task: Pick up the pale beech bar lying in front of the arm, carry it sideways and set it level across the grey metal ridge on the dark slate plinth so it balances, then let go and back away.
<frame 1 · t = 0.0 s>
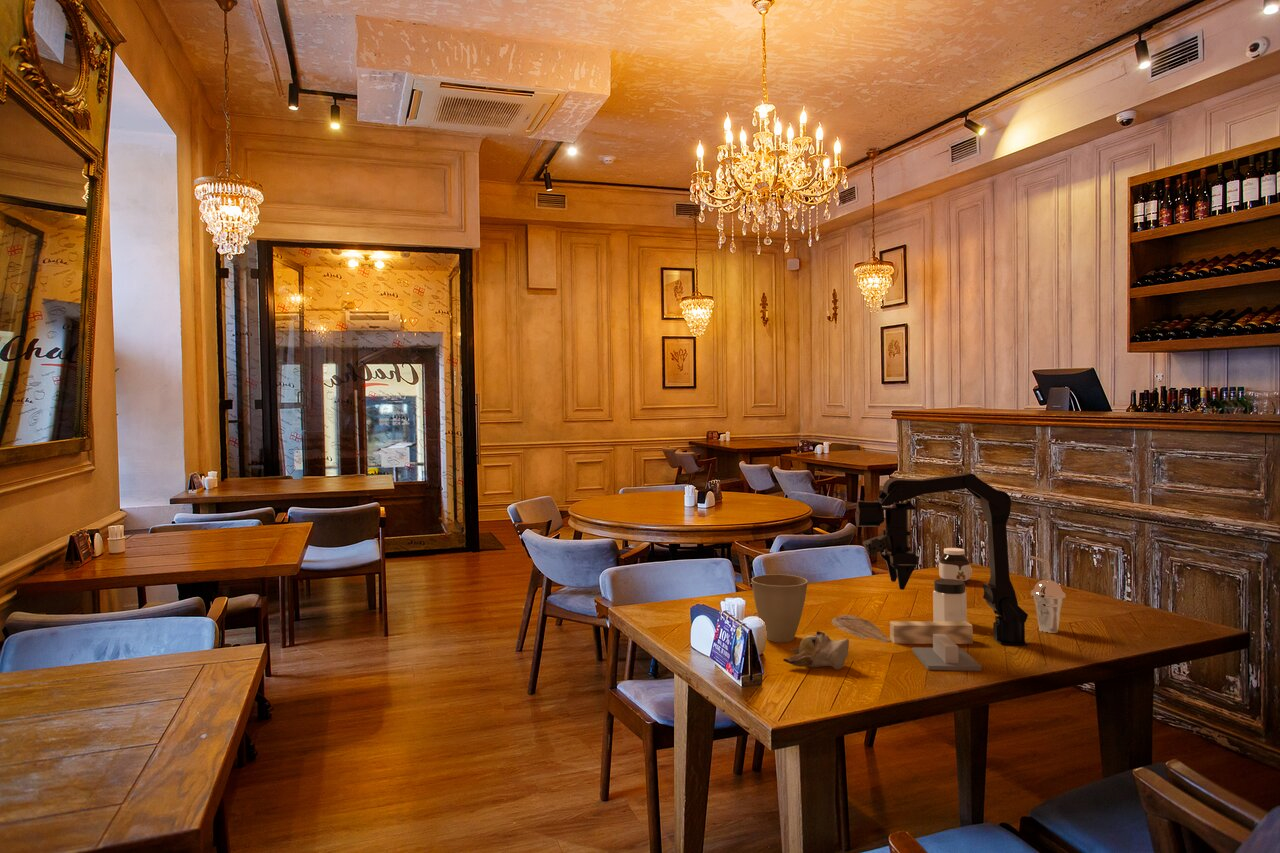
hand: (897, 585, 199), 15 cm above the table, fingers open, 9 cm apart
spread jar: (956, 581, 268), on the table
ceramic sculpture: (817, 667, 181), on the table
fish fossil: (861, 632, 210), on the table
cup with straw: (1047, 631, 206), on the table
beech bar: (930, 642, 198), on the table
fulcrum: (945, 660, 183), on the table
jar: (950, 624, 214), on the table
plant pot: (780, 639, 203), on the table
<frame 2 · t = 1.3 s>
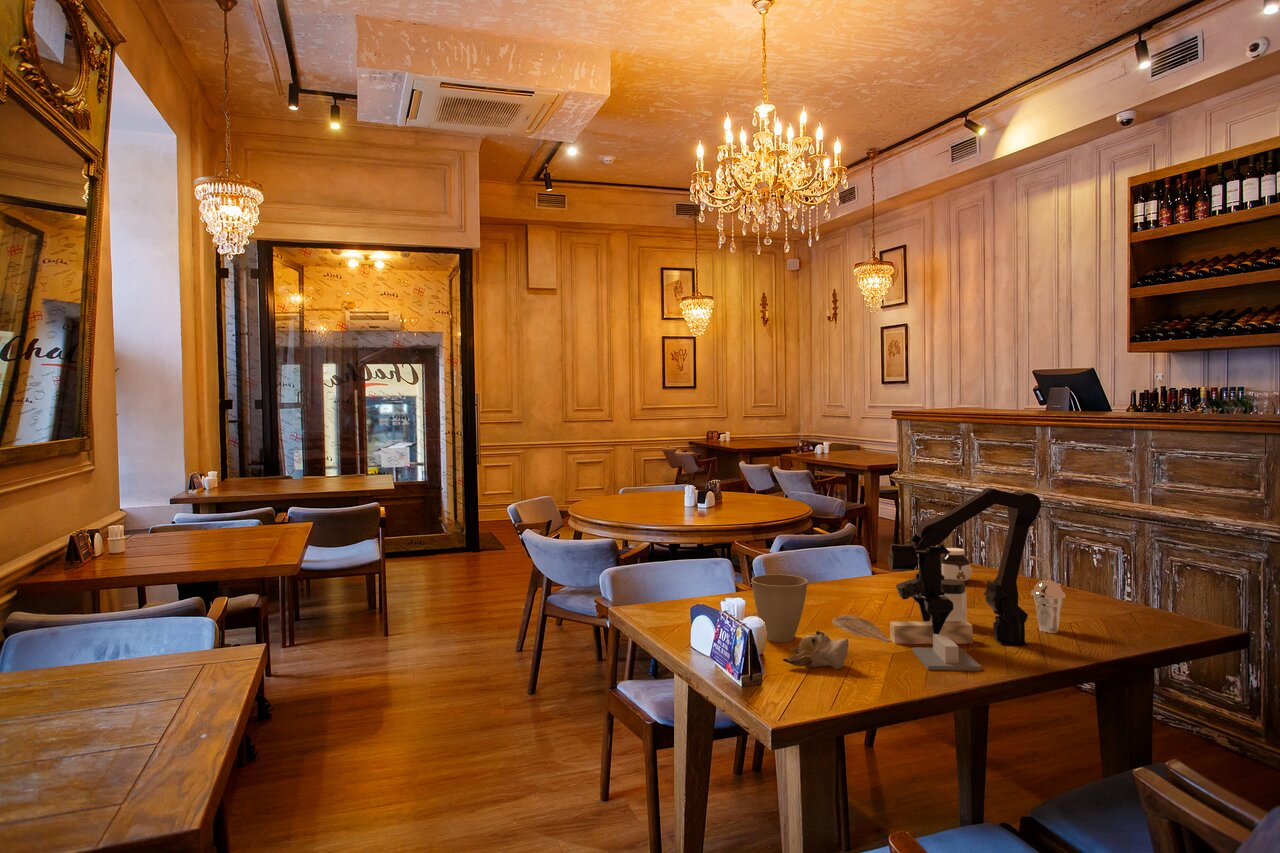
hand: (931, 629, 198), 3 cm above the table, fingers open, 9 cm apart
nothing on the table moved.
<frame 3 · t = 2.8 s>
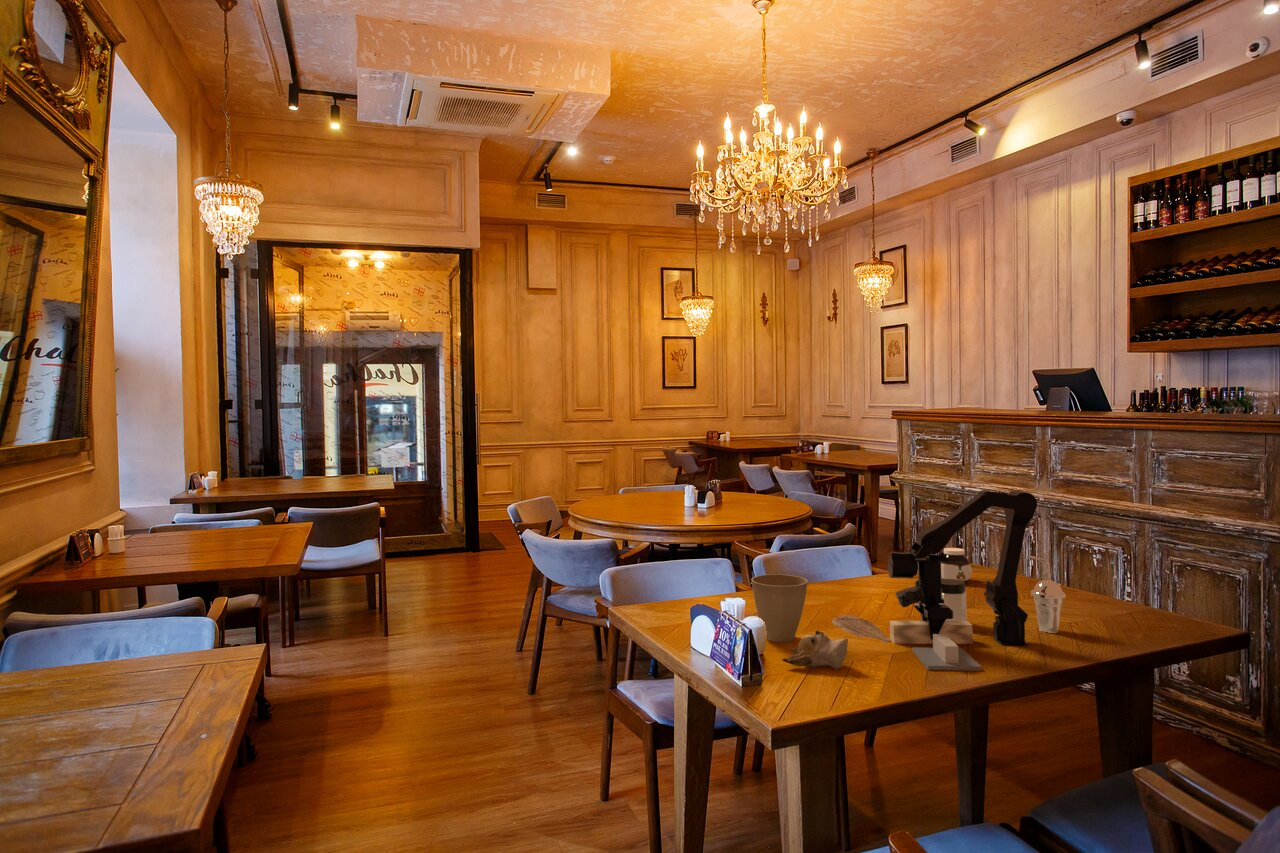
hand: (930, 637, 198), 1 cm above the table, fingers closed on beech bar, 4 cm apart
beech bar: (930, 641, 198), on the table, touching gripper
everything else where it was.
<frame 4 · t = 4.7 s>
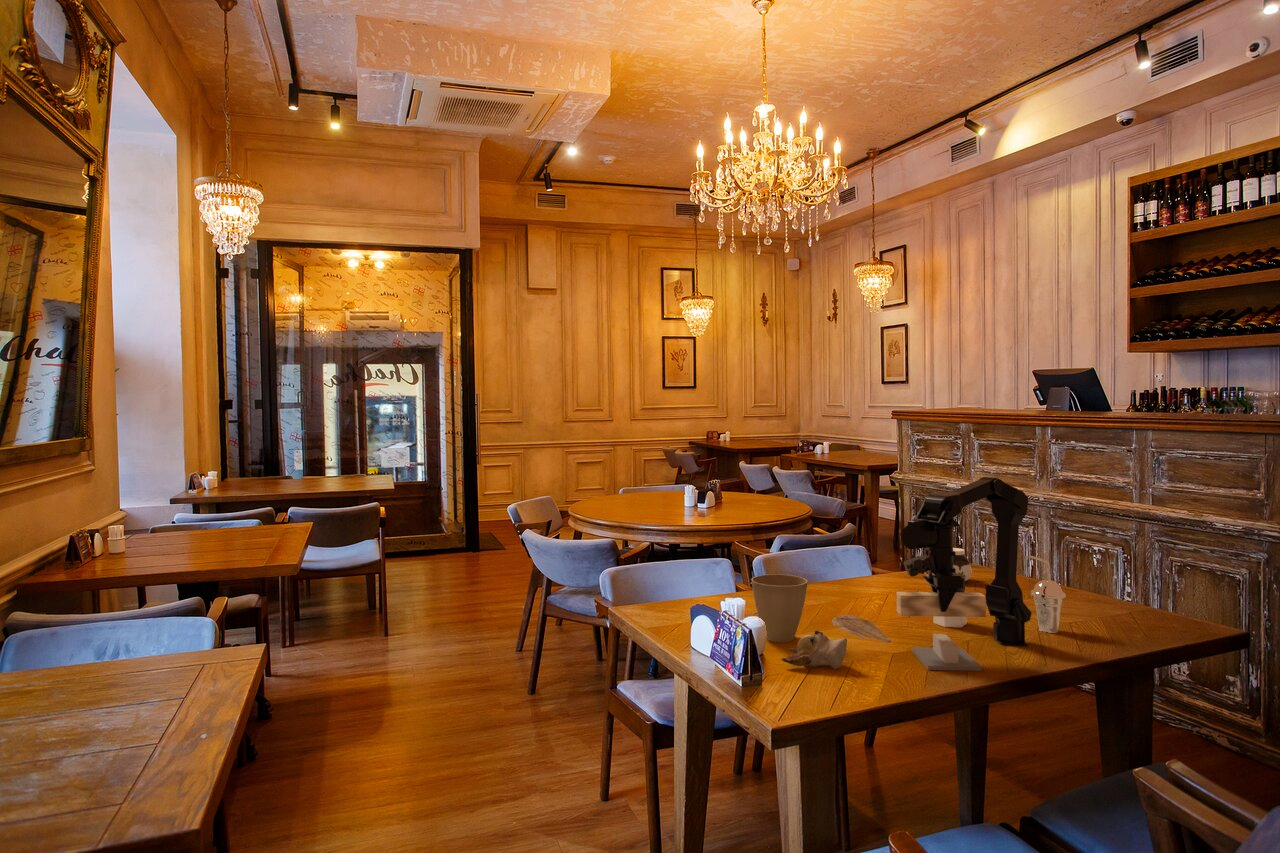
hand: (940, 609, 185), 12 cm above the table, fingers closed on beech bar, 4 cm apart
beech bar: (940, 614, 185), point 11 cm above the table, touching gripper
everything else where it was.
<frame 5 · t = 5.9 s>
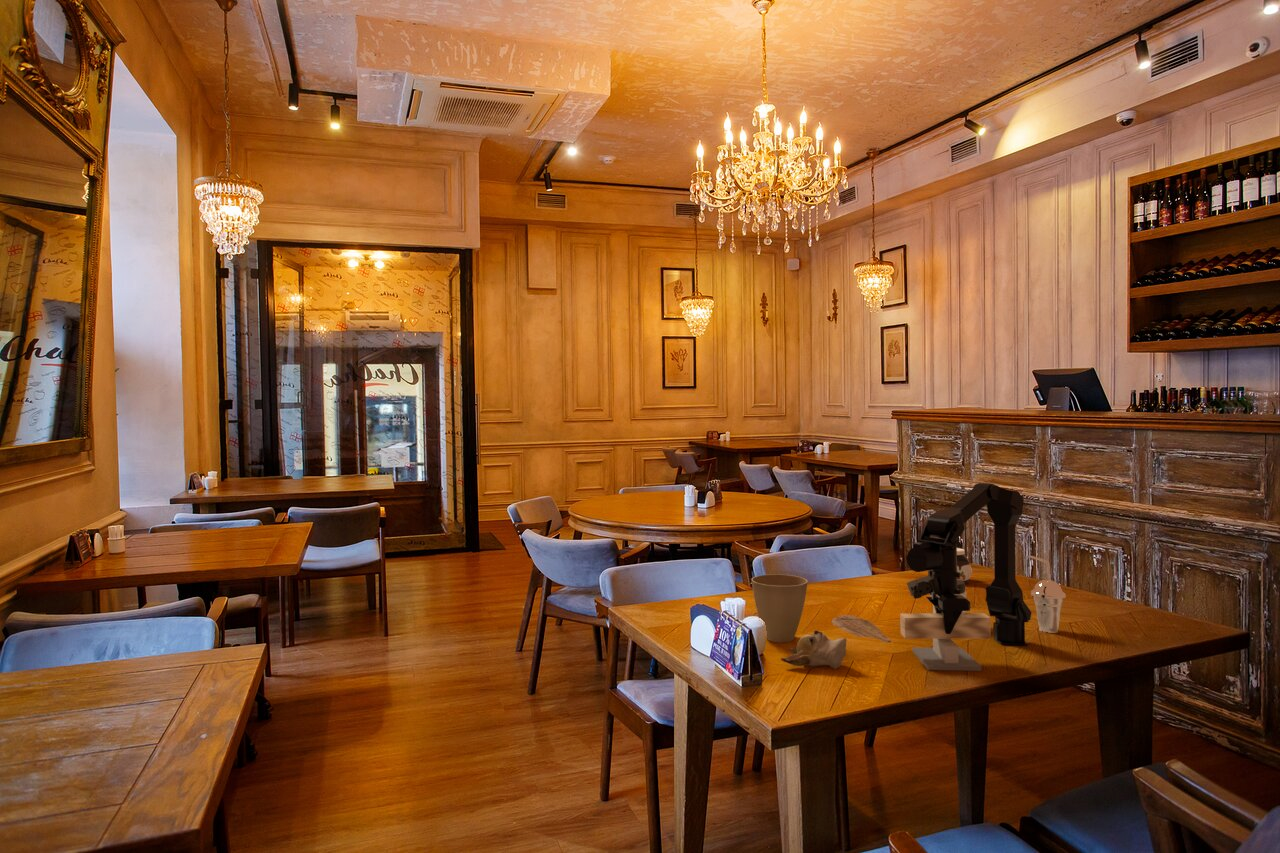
hand: (945, 631, 183), 7 cm above the table, fingers closed on beech bar, 4 cm apart
beech bar: (945, 636, 183), point 6 cm above the table, touching gripper
everything else where it was.
when the fingers open (7 cm above the table, at t = 6.8 s): beech bar stays where it is, resting on fulcrum.
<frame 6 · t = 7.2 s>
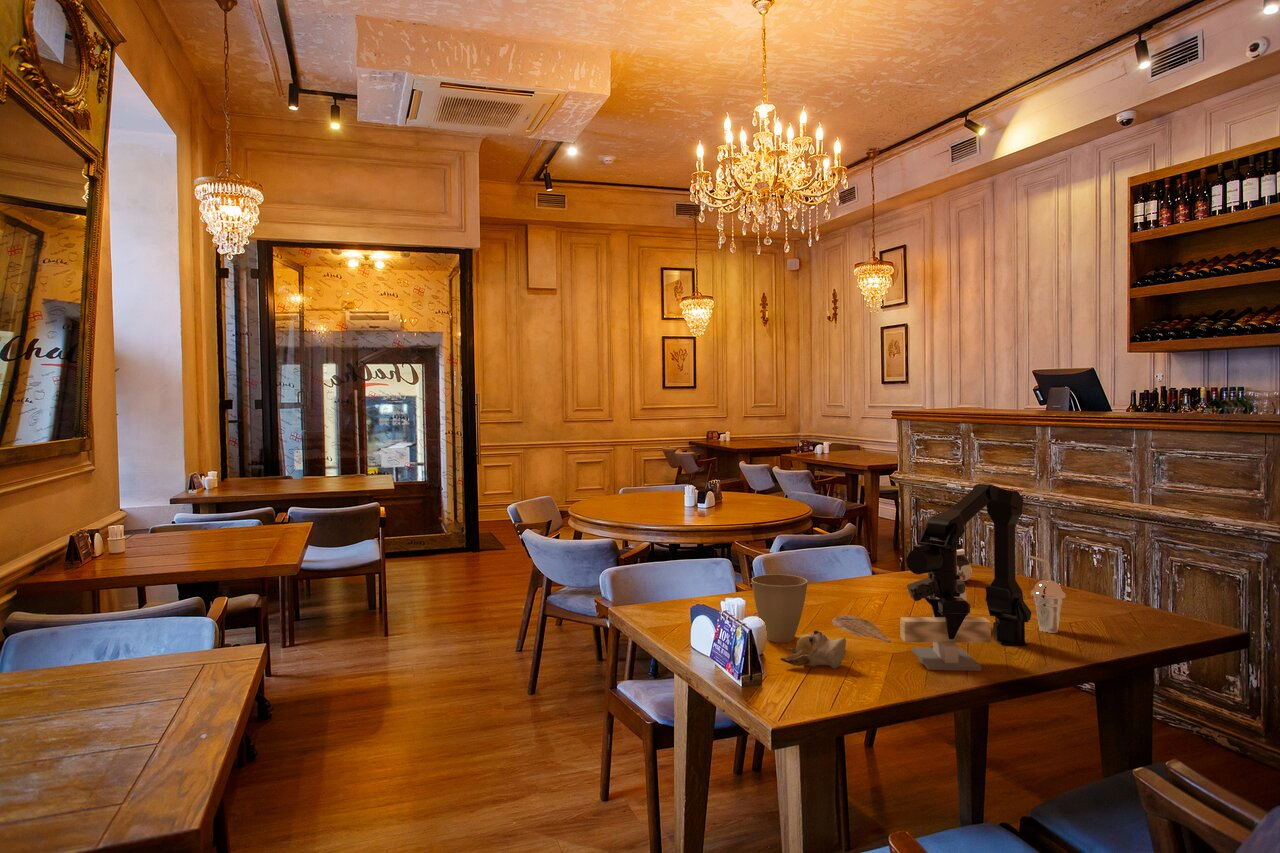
hand: (945, 633, 183), 7 cm above the table, fingers open, 9 cm apart
beech bar: (945, 640, 183), point 5 cm above the table, touching fulcrum
everything else where it was.
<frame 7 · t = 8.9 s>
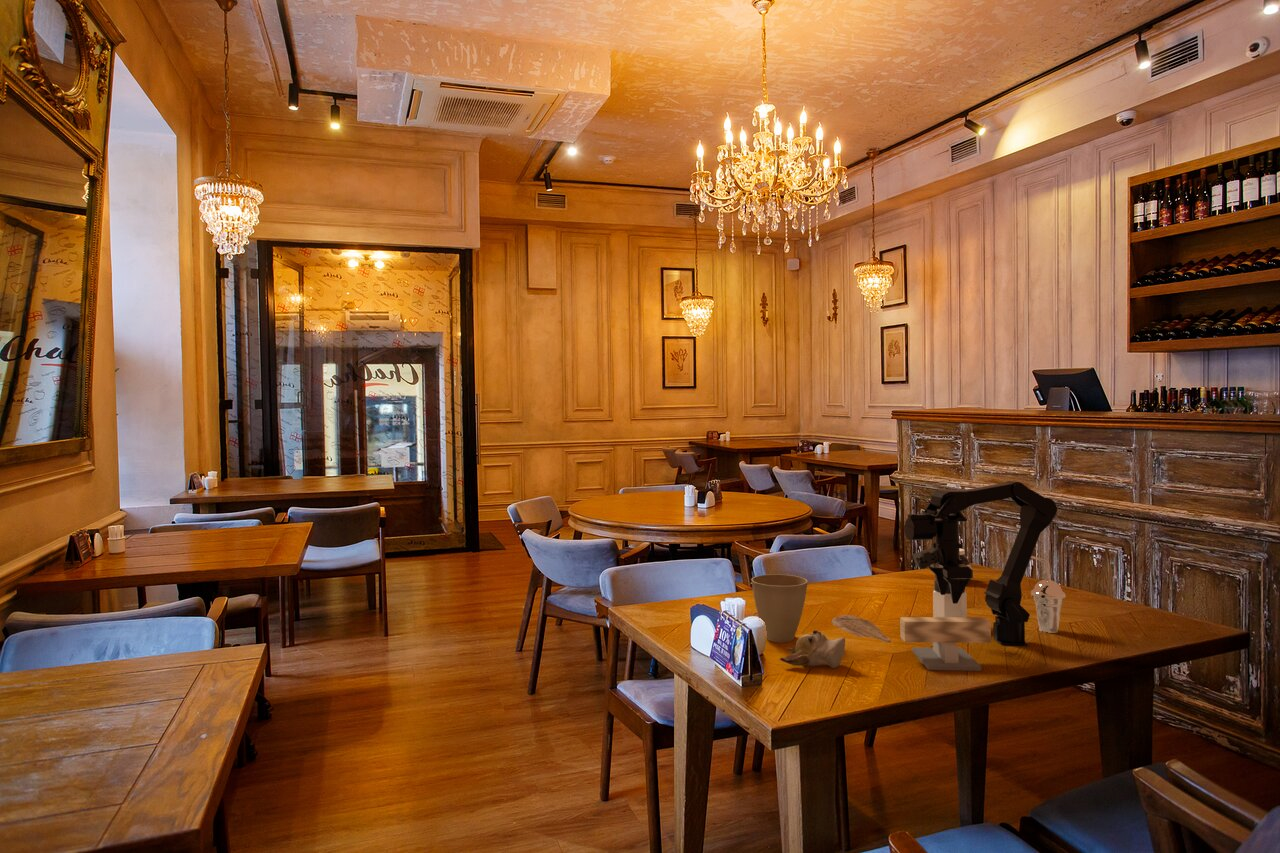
hand: (948, 599, 195), 12 cm above the table, fingers open, 9 cm apart
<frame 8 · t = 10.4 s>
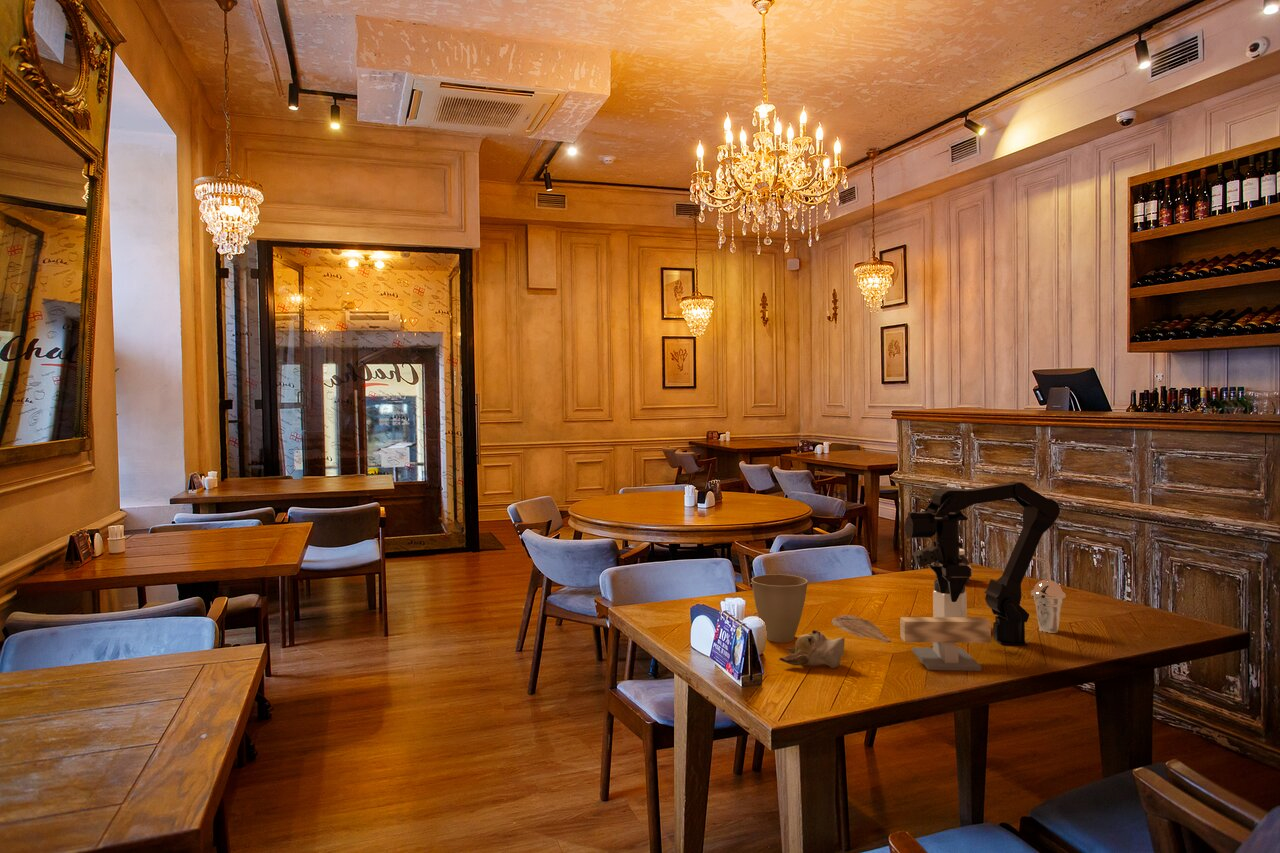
hand: (948, 597, 196), 12 cm above the table, fingers open, 9 cm apart
at the end: beech bar inside the target area on the fulcrum (0.0 cm from its centre), point 5.0 cm above the fulcrum's base; beech bar tilted 0°; beech bar touching fulcrum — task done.
